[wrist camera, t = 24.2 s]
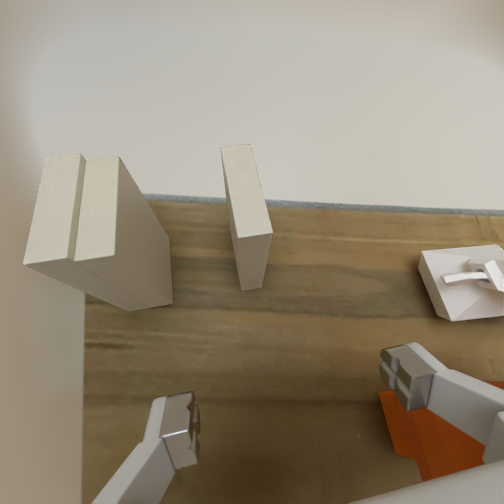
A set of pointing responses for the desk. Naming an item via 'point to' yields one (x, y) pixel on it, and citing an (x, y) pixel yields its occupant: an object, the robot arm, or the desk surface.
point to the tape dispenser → (465, 281)
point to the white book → (246, 215)
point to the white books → (99, 234)
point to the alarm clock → (430, 439)
